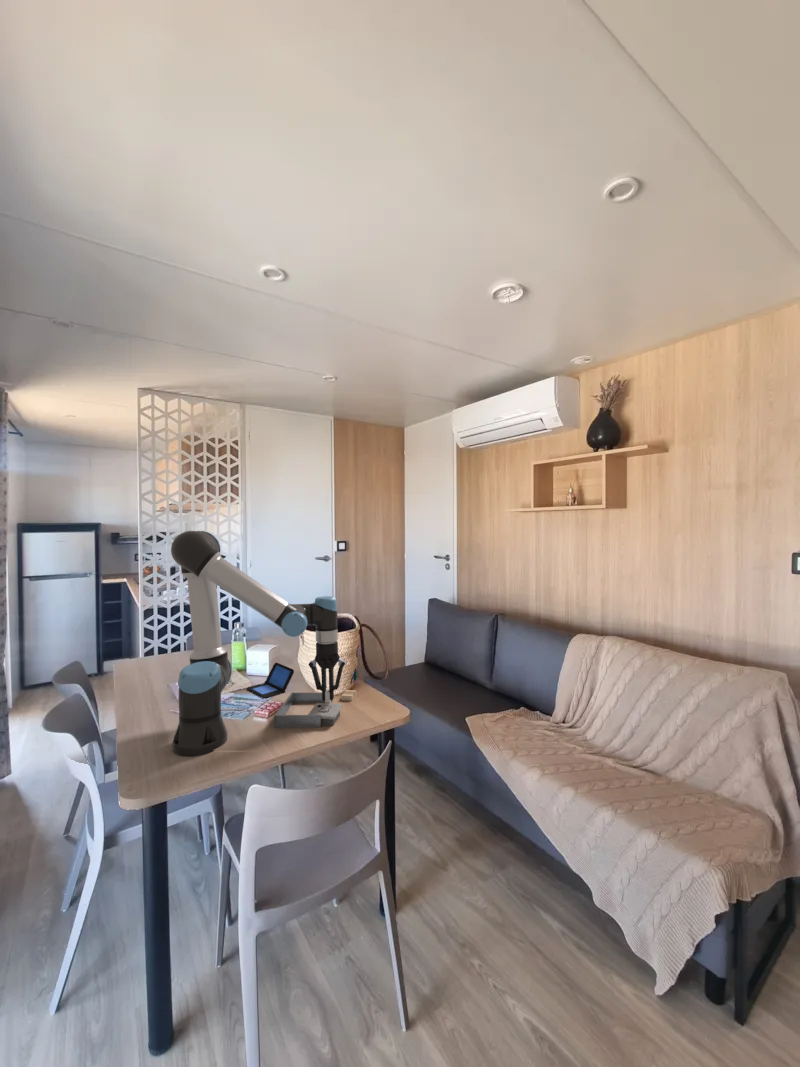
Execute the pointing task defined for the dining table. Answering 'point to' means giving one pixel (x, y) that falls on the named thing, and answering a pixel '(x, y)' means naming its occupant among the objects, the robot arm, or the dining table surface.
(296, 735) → the dining table surface
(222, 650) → the robot arm
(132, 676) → the dining table surface
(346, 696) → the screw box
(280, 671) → the handheld game console
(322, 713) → the electrical switch
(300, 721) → the socket recess
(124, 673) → the dining table surface
